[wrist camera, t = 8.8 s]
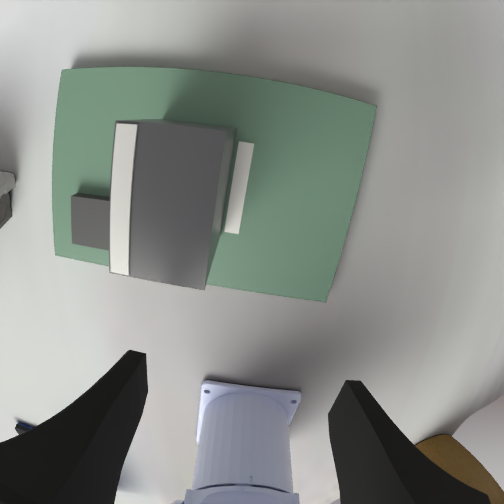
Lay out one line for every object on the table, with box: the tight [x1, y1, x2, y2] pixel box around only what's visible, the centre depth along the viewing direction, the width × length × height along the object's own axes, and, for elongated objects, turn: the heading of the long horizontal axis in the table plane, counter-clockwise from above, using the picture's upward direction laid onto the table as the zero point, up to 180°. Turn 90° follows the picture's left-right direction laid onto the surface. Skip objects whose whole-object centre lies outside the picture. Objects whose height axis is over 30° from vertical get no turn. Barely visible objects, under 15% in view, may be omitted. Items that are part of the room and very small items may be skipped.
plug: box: [109, 119, 237, 290], centre depth 14 cm, size 6×4×6 cm, turn 170°
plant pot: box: [415, 434, 504, 504], centre depth 22 cm, size 15×15×16 cm
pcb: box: [52, 67, 377, 302], centre depth 16 cm, size 12×18×4 cm, turn 80°
